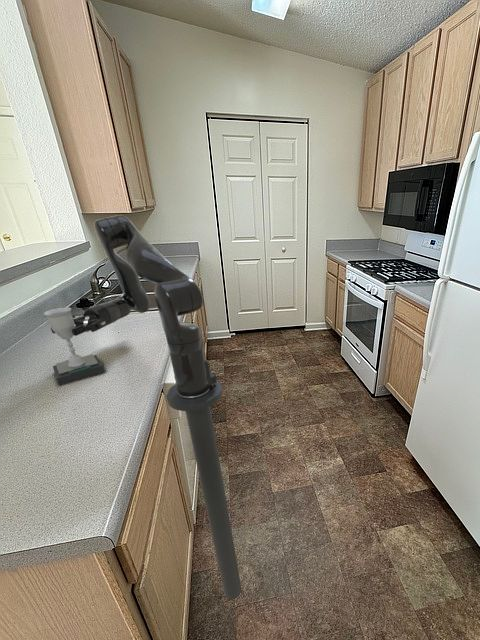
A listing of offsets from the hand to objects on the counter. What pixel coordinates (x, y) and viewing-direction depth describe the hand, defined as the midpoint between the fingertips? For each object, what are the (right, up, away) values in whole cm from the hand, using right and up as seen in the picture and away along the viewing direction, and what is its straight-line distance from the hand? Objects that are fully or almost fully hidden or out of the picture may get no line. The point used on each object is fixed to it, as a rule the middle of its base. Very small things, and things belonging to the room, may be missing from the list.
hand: (62, 331), depth 104 cm
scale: (+1, -13, +7) cm, 15 cm away
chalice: (0, -10, +6) cm, 12 cm away
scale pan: (0, -11, +6) cm, 12 cm away
